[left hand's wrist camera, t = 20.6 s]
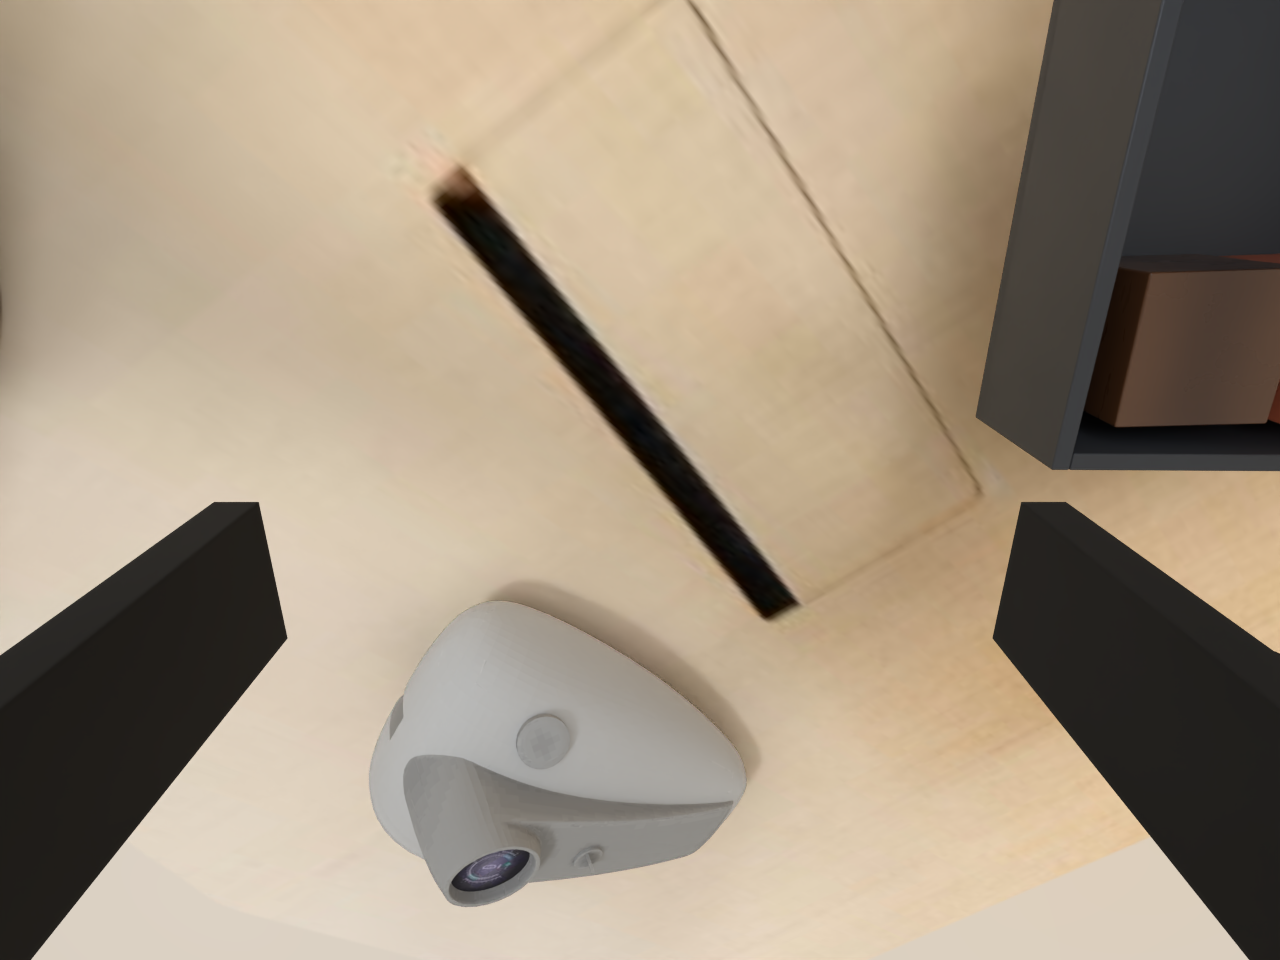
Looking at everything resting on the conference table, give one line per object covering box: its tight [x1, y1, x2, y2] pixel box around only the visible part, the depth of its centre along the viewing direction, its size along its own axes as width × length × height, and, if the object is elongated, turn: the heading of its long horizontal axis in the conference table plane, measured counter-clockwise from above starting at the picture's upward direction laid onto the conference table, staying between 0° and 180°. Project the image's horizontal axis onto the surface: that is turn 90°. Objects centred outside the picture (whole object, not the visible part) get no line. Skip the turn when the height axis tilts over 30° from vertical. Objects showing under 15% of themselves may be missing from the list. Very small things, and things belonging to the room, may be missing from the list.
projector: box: [369, 600, 747, 907], centre depth 42 cm, size 22×23×15 cm
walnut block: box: [1083, 254, 1280, 427], centre depth 25 cm, size 5×5×5 cm
